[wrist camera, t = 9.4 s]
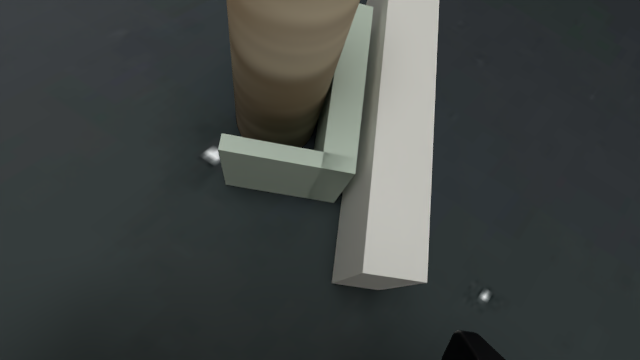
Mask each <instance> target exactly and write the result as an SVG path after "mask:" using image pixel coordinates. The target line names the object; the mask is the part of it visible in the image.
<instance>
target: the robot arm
mask: <svg viewBox="0 0 640 360" xmlns="http://www.w3.org/2000/svg"><path fill="white" fill-rule="evenodd" d="M442 360H505V359H504V358H503V357H502V356H501V355H500V354H499V353H498V352H497V351H496V350H495V349H493V348H492V347H491V346H490V345H489V344H488V343H487V342H486V341H485V340H484V339H483V338H482V337H481V336H480V335H478V334H477V333H474V332H468V331H461V330H459V331H456V332H455V333H454V334H453V335H452V337H451V340H450V342H449V344H448V346H447V348H446V350H445V352H444V354H443V356H442Z"/></svg>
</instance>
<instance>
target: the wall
mask: <svg viewBox="0 0 640 360" xmlns="http://www.w3.org/2000/svg"><path fill="white" fill-rule="evenodd" d="M366 5H367V6H372V7H373V15H372V25H371V34H370V43H369V52H368V61H367V71H366V80H365V89H364V98H363V108H362V117H361V126H360V135H359V145H358V154H357V163H356V172H355V175H354V177H353V178H352V179H351V180H350V182H349V183H348V184H347V186H346V187H345V188H344V190H343V192H342V200H341V209H340V217H339V226H338V234H337V243H336V251H335V260H334V268H333V277H332V283H333V284H340V285H347V286H353V287H360V288H367V289H374V290H383V289H390V288H396V287H403V286H409V285H416V284H422V283H427V273H428V250H429V226H430V203H431V180H432V157H433V133H434V110H435V87H436V64H437V40H438V17H439V0H367V3H366Z"/></svg>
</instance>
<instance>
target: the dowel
mask: <svg viewBox="0 0 640 360" xmlns="http://www.w3.org/2000/svg"><path fill="white" fill-rule="evenodd" d="M359 2H360V0H227V11H228V23H229V35H230V48H231V60H232V72H233V84H234V96H235V109H236V120H237V126H238V129H239V131H240V134H241V135H242V137H244V138H250V139H255V140H261V141H266V142H272V143H277V144H283V145H288V146H294V147H299V148H301V147H303V146H304V145H305V144H306V143H307V142H308V141H309V139H310V138H311V136H312V134H313V131H314V129H315V126H316V123H317V120H318V118H319V115H320V112H321V109H322V106H323V103H324V101H325V98H326V95H327V92H328V89H329V87H330V84H331V81H332V78H333V75H334V72H335V70H336V67H337V64H338V61H339V58H340V55H341V53H342V50H343V47H344V44H345V41H346V39H347V36H348V33H349V30H350V27H351V24H352V22H353V19H354V16H355V13H356V10H357V8H358V5H359Z"/></svg>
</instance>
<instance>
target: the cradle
mask: <svg viewBox="0 0 640 360" xmlns="http://www.w3.org/2000/svg"><path fill="white" fill-rule="evenodd" d="M372 15H373V7H372V6H367V5H363V4H359V5H358V8H357V10H356V13H355V16H354V19H353V22H352V24H351V27H350V30H349V33H348V36H347V39H346V41H345V44H344V47H343V50H342V53H341V55H340V58H339V61H338V64H337V67H336V70H335V72H334V75H333V78H332V81H331V84H330V87H329V89H328V92H327V95H326V98H325V101H324V103H323V106H322V109H321V112H320V115H319V118H318V125H317V132H316V139H315V145H314V150H310V149H305V148H299V147H294V146H288V145H283V144H277V143H272V142H266V141H261V140H255V139H250V138H244V137H239V136H233V135H228V134H222V135H221V139H220V143H219V148H218V152H219V156H220V161H221V165H222V170H223V174H224V179H225V183H226V185H231V186H237V187H243V188H249V189H254V190H260V191H266V192H272V193H278V194H284V195H290V196H296V197H302V198H308V199H314V200H319V201H325V202H331V203H334V202H335V200H336V199H337V198H338V196H339V195H340V194H341V192H342V191H343V190H344V188H345V187H346V186H347V184H348V183H349V182H350V180H351V179H352V178H353V177H354V175H355V172H356V163H357V154H358V145H359V135H360V126H361V117H362V108H363V98H364V89H365V80H366V71H367V61H368V52H369V43H370V34H371V25H372Z"/></svg>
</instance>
